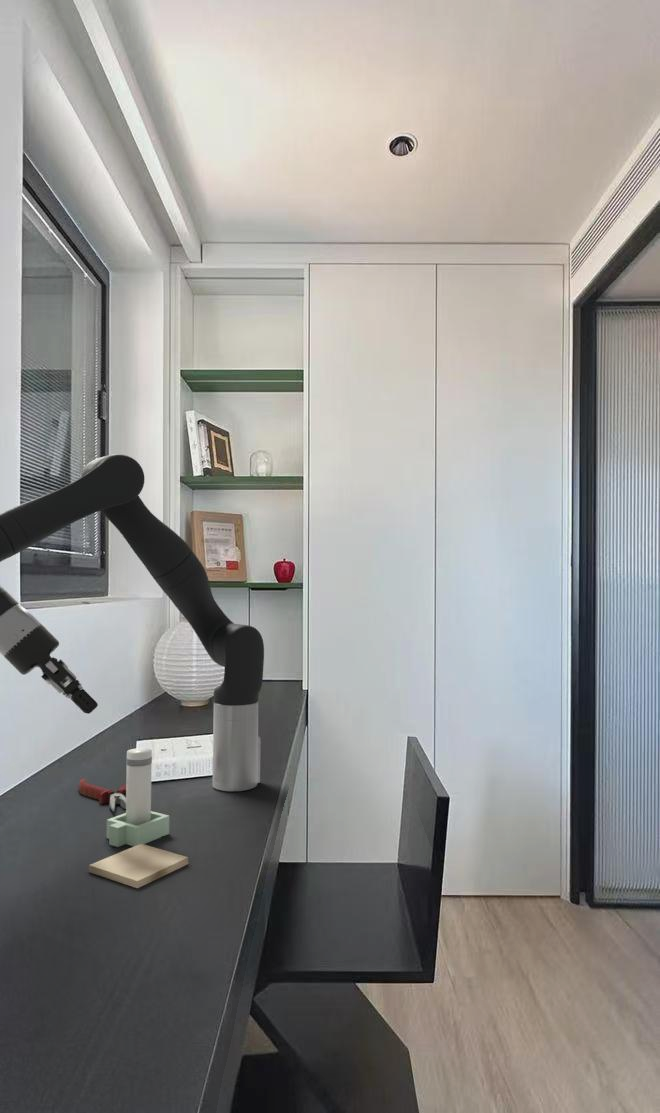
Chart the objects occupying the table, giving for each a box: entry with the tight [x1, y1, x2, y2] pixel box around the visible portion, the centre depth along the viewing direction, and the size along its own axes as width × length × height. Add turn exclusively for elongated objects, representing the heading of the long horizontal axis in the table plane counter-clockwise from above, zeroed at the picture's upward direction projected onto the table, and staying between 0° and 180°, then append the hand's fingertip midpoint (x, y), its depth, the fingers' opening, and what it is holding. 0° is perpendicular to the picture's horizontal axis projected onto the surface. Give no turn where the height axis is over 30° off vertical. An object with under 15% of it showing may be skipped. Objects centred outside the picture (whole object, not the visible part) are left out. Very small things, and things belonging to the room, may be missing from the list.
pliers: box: [77, 778, 126, 813], centre depth 137 cm, size 12×20×3 cm, turn 25°
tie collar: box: [105, 810, 170, 848], centre depth 117 cm, size 9×7×3 cm
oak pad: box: [88, 844, 189, 889], centre depth 105 cm, size 10×10×1 cm
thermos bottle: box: [125, 747, 153, 826], centre depth 118 cm, size 4×4×14 cm
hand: (92, 709), depth 117 cm, fingers open, 8 cm apart
